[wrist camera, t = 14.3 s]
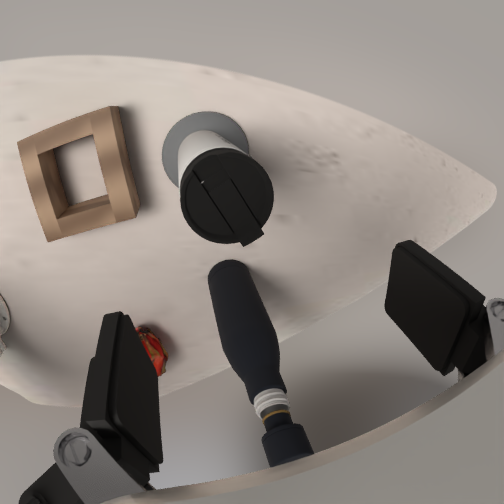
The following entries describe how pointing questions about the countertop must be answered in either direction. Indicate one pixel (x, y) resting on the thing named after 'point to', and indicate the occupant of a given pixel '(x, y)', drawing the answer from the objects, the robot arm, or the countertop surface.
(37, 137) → the mug holder
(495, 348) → the robot arm
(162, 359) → the dragon fruit
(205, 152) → the travel mug
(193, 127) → the coaster
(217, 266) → the black water bottle
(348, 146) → the countertop surface
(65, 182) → the countertop surface
